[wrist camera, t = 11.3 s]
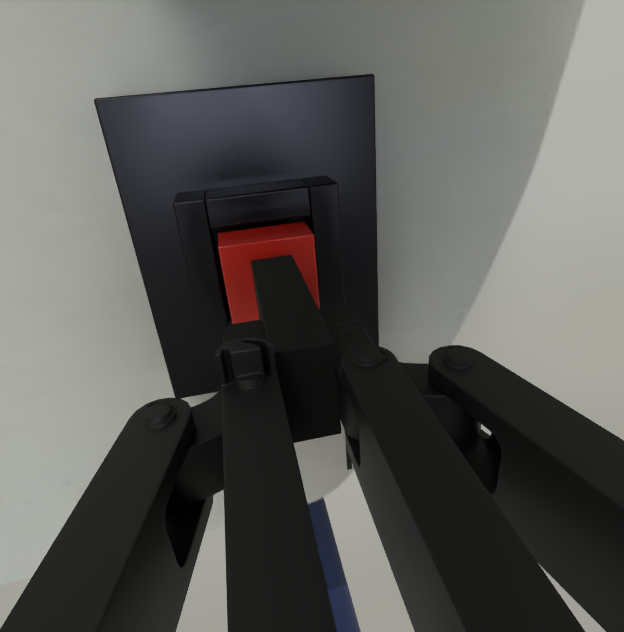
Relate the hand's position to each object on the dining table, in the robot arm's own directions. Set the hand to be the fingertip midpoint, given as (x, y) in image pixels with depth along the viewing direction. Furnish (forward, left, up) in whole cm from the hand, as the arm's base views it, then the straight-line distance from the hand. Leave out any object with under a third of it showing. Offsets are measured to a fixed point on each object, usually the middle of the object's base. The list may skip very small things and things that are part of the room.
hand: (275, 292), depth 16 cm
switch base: (0, 0, -8) cm, 8 cm away
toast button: (0, 0, -3) cm, 3 cm away
